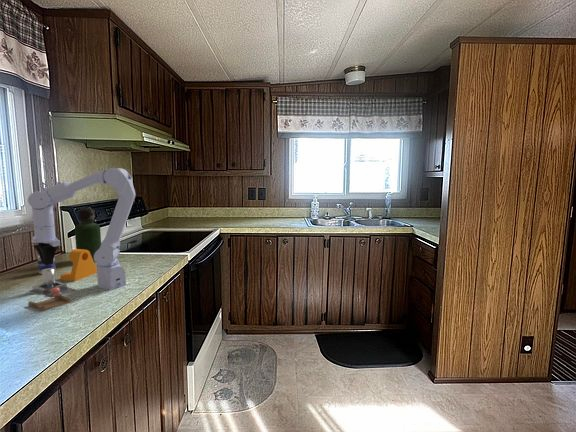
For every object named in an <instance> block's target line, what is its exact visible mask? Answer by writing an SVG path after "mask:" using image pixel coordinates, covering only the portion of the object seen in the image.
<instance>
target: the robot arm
mask: <svg viewBox="0 0 576 432" xmlns="http://www.w3.org/2000/svg"><path fill="white" fill-rule="evenodd" d="M96 184H102V185H103V184H107V185H108V186H109V187H111V188H112V189H113V190H114V191H115V192H116V194H117V195H118V199H117V202H116V205H115V208H114V211H113V213H112V216H111V220H110V222H109V225H108V228H107V231H106V234H105V237H104V238H103V240H102V241H101V246H100V248H99V249H98V250H97V251H96V252H95V254H94V263H96V268H97V273H96V275H97V277H96V278H97V287H98V288H100V289H106V290H108V291H109V290H110V291H112V290H115V289H119V288H122V287H125V286H126V285H127V283H126V282H127V280H126V270H125V268H124V267H123V266H121V265H120V260H119V259H118V258H119V256H120V253H121V249H120V245H121V238H122V235H123V232H124V230H125V227H126V225H127V224H126V223H127V221H128V218H129V215H130V213H131V209H132V206H133V204H134V201H135V199H136V190H135V187H134V183H133V178H132V176H131V174H130V173H129V172H128V171H127V169H125V168H122V167H110V168H107V169H102V170H99V171H95V172H93V173H91V174H89V175H86V176H84V177H81V178H79V179H77V180H75V181H73V182H68V181H66V180H65V181H62V180H60V181H57V182H56V184H54V185H52V186H50V187H46V186H45V187H42V191H37V190H36V191H34V192H31V193H30V195H29V196H28V199H27V202H28V205H30V207H31V208H32V209H31V210H32V219H33V221H32V222H33V228H34V229H33V231H34V236H31V243H37V244H35V245H33V248H34V249H35V251H36V253H37V254H38V255H39V256H40V259H41V261H42V263H43V265H51V264H53V260H54V257H55V255H56V252H57V250H58V248H59V247H61V240H59V239H58V237H56V225H55V214H54V205H56V204H58V203H61V202H63V201H65V200H68V199H71V198H73V197H75V196H76V193H77V192H78V191H80V190H83V189H86V188H89V187H91V186H94V185H96Z"/></svg>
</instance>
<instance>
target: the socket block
mask: <svg viewBox="0 0 576 432" xmlns="http://www.w3.org/2000/svg"><path fill="white" fill-rule="evenodd" d="M57 287H58V288H60V294H59V295H62V296H63V295H65V294H69V293H72V292H75V291H77V289H75V288H71V287H69V286H67V283H64V282H60V281H58V280H56V286H54V287H50V288H46V289H44V288H43V283H41V284H37V285H33V286H32V289H31V291H33V292H35V293H38V294H40V295H44V296H46V297H49V298H50V299H51V298H54V295H51V289H52V288H57Z"/></svg>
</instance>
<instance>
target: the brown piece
mask: <svg viewBox="0 0 576 432" xmlns="http://www.w3.org/2000/svg"><path fill="white" fill-rule="evenodd" d="M53 296H54V297H52V298H51V297H50V298H49V299H48V298H47V299H45V300H42V301H38V302H35V301H33V300H32V301H28V302H27V303H28V304H27V305H28V307H31V308H32V309H34V310H37V311H40V312H45V311H48V310H51V309H54V308H58V307H60V306H64V305H67V304H69V303H71V298H70V297H67V296H64V295H63V294H62V295H59V294H55V295H53Z"/></svg>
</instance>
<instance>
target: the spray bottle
mask: <svg viewBox="0 0 576 432" xmlns="http://www.w3.org/2000/svg"><path fill="white" fill-rule="evenodd" d="M77 217H78V220H79V222H81V223H79V224H77V225H76V226H74V236H75V237H74V238H75V249H83V250H88V251H89V252H90V254H91V256H92V259H93V261H94V254H95V252H96V251H97V250H98V249H99V248H100V246H101V244H102V237H101V227H100V225H99V224H98V223H96V222H94V221H95V220H96V213H95V210H94V208H91V207H85V208H79V210H78V212H77ZM94 262H95V261H94Z"/></svg>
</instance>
